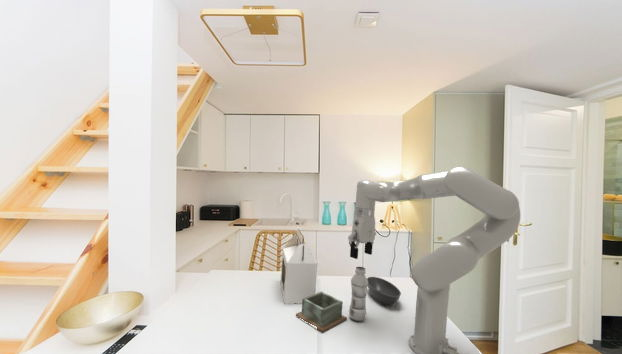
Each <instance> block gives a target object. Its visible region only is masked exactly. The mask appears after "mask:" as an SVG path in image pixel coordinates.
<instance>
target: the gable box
mask: <svg viewBox="0 0 622 354" xmlns="http://www.w3.org/2000/svg"><path fill="white" fill-rule="evenodd" d="M304 239H305V237H304V235H303V233H302V232H301V231H300V229H297V232H296V231H294V235H293V236H292V237H291V238H290V239H289V241H288V242H287V243H286V245H285V246H284V247H283V248H282V255H281V257H282V258H281V268H280V269H281V273H280V287H281V288H280V289H281V293H282V300H283V304H284V305H288V303H302V300H303V298H306V297H309V296H311V295H314V294H316V289H317V275H318V265H319V264H318V262H317V260H316V258H315V256H314V255H313V253H312V251H311V249H310V248H309V245H307V244H306V242H305V240H304Z"/></svg>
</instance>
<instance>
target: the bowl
mask: <svg viewBox="0 0 622 354" xmlns="http://www.w3.org/2000/svg"><path fill="white" fill-rule="evenodd" d="M366 278H367V280H368V287H367V289H368V290H369V292H370V294H371V297H372V298H373V299H374V300H375V301H376V302H377V303H379V304H380V305H382V306H384V307H387V308H391V307H393V306H394V305H396V304H397V303H398V301H399V299H400V297H401V295H402V292H401V291H400V289H399V288H398V287H397V286H396V285H395V284H393V283H391V282H390V281H388V280H386V279H383V278H381V277H377V276H368V277H366Z"/></svg>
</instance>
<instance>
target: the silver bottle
mask: <svg viewBox="0 0 622 354" xmlns="http://www.w3.org/2000/svg"><path fill="white" fill-rule="evenodd" d="M367 278H368V277H366V268H365V267H363V266H356V267H355V273H354V275H353V276H352V278H351V279H350V283H351V297H350V298H351V299H350V305H349V309H348V312H349V313H348V314H349V317H350V319H351V320H353V321H355V322H363V321H365V319H366V317H367V308H366V307H367V306H366V305H367V304H366V303H367V302H366V300H367V299H366V298H367V297H366V296H367V291H368V280H367Z"/></svg>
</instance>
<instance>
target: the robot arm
mask: <svg viewBox="0 0 622 354" xmlns="http://www.w3.org/2000/svg"><path fill="white" fill-rule="evenodd" d="M454 196H455V197H457V198H459V199H460V200H462V201H463V202H465V203H467V204H468V205H470V206H471V207H473V208H475V209H476V210H478V211H480V212H481V213H482V214H485V215H484V217H482V218H481V219H480V220H479V221H478V222H476V223H475V224H473V225H472V226H471V227H469V228H467V229H466V230H464V231H463V232H461V233H460V234H458V235H456V236H454V237H451V238H450V239H449V240H447V241H446V242H445V243H444V244H442V245H441V246H439V247H438V248H436V249H434V251H432V252H430V253H427V254H425V255H423V256H422V257H421V258H420V259H419V260H417V262H416V263H415V264H413V267H412V269H411V270H412V271H411V275H412V276H411V277H412V280H413V283H415V285H416V286H417V292H416V293H417V294H416V302H415V303H416V305H415V318H414V329H413V334H412V335H409V338H408V345H409V347H410V349H411V350H412V351H413V352H414V353H415V354H460V352H458V348H457V347H455V346H453V345H450V343H449V338H448V337H446V336H447V335H446V333H447V322H448V321H447V320H448V308H449V297H450V296H449V295H450V289H451V284H452V283H454V282H456V281H458V280H460V279H461V278H463V277H465V276H466V275H467V274H469V273H470V272H472V271H473V270H474V269H475V268H476V266H477V264H478V262H479V261H480V260H481V259H482V258H484V257H485V256H486V255H488V254H490V253H491V252H493V251H494V250H497V248H499V247H500V246H502V245H504V243H506V242H508V240H510V239H511V238H512V237H513V236H514V235H515V233H516V232H517V229H518V228H519V226H520V222H521V208H520V201H519V198H518V197H517V196H516V194H514V193H513V192H512V191H510V190H509V189H507V188H505V187H503V186H501V185H499V184H497V183H496V182H493V181H491V180H489V179H488V178H486V177H484V176H482V175H480V174H479V173H477V172H476V171H475V170H473V169H471V168H469V167H466V166H455V167H452V168H451V169H447V170H443V171H436V172H430V173H423V174H419V175H418V176H416V177H414V178H410V179H405V180H400V181H392V182H390V181H370V180H359V181H357V184H356V193H355V205H354V217H353V221H352V228H351V234H350V235H348V238H347V239H348V244H349V247H350V250H349V257H350V258H351V259H356V260H357V259H359V246H360V244H364V254H366V255H370V256H371V255H373V245H374V242H375V237H376V234H377V233H376V217H375V211H376V210H375V209H376V202H378V203H391V202H398V201H399V202H400V201H406V200H407V201H408V200H417V199H418V200H419V199H420V200H428V199H429V200H430V199H436V198H446V197H454Z"/></svg>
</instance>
